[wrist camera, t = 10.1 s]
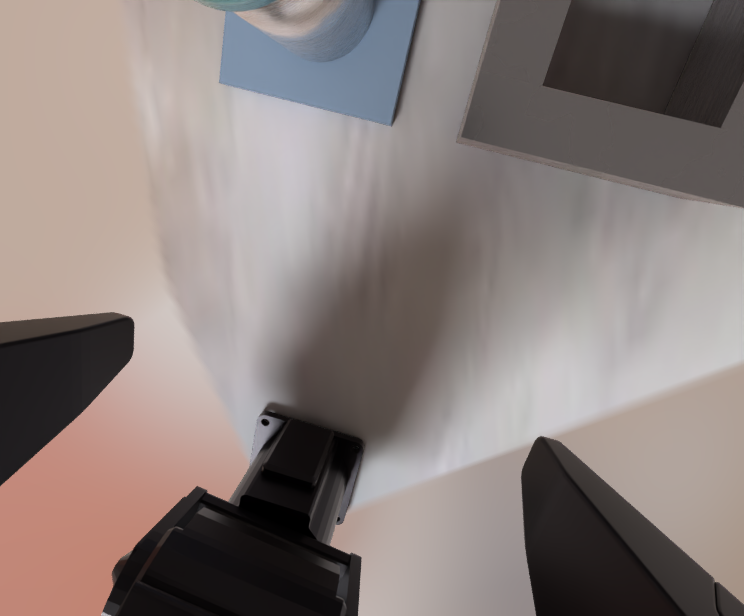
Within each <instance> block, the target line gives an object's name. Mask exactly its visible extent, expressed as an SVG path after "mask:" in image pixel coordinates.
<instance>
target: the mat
mask: <svg viewBox="0 0 744 616" xmlns="http://www.w3.org/2000/svg"><path fill="white" fill-rule="evenodd" d="M420 2H421V0H375V6H374V12H373V16H372V20H371V23H370V25H369V28H368V30H367V32H366V34H365V36H364V37H363V38H362V40H361V41H360V43H359V44H358V45H357V46H356V47H355V48H354V49H353V50H352V51H351V52H350V53H348V54H346V55H345V56H343V57H341V58H339V59H337V60H334V61H331V62H311V61H308V60H305V59H302V58H300V57H298V56H297V55H295V54H294V53H292V52H291V51H289V50H288V49H286V48H285V47H283V46H282V45H280V44H279V43H277V42H276V41H275V40H273V39H272V38H270V37H269V36H267V35H266V34H264V33H263V32H261V31H260V30H258V29H257V28H256V27H254V26H253V25H251V24H250V23H248V22H247V21H245V20H244V19H242V18H241V17H239V16H238V15H237V14H235V13H234V12H229V11H226V15H225V26H224V37H223V47H222V58H221V69H220V80H219V83H222V84H225V85H229V86H233V87H237V88H241V89H245V90H249V91H253V92H257V93H261V94H265V95H269V96H273V97H277V98H281V99H285V100H289V101H293V102H297V103H301V104H305V105H309V106H313V107H317V108H321V109H325V110H329V111H333V112H337V113H341V114H345V115H349V116H353V117H357V118H361V119H365V120H369V121H373V122H377V123H381V124H385V125H389V126H392V123H393V118H394V114H395V110H396V105H397V101H398V97H399V92H400V88H401V84H402V79H403V75H404V71H405V67H406V62H407V58H408V54H409V49H410V45H411V41H412V36H413V32H414V28H415V23H416V19H417V15H418V10H419V6H420Z"/></svg>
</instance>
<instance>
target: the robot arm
mask: <svg viewBox="0 0 744 616" xmlns="http://www.w3.org/2000/svg"><path fill="white" fill-rule="evenodd" d="M133 350H134V321H133V319H132V318H131V317H129V316H125V315H122V314H119V313H114V312H110V313H100V314H88V315H77V316H67V317H55V318H44V319H33V320H22V321H11V322H0V486H1V485H2V484H3V483H4V482H5V481H6V480H8V479H9V478H10V477H11V476H12V475H13V474H14V473H15V472H17V471H18V470H19V469H20V468H21V467H22V466H23V465H24V464H25V463H27V462H28V461H29V460H30V459H31V458H32V457H33V456H34V455H35V454H37V452H39V451H40V450H41V449H42V448H43V447H44V446H45V445H47V443H49V442H50V441H51V440H52V439H53V438H54V437H56V436H57V435H58V434H59V433H60V432H61V431H62V430H63V429H64V428H66V426H68V425H69V424H70V423H71V422H72V421H73V420H74V419H75V418H77V417H78V416H79V415H80V414H81V413H82V412H83V411H84V410H85V409H86V408H87V407H88V406H89V405H90V404H91V402H92V401H93V400H94V399H95V398H96V397H97V396H98V395H99V394H100V392H102V390H103V389H104V388H105V387H106V386H107V385H108V384H109V383H110V382H111V381H112V380H113V378H114V377H115V376H116V375H117V374H118V373H119V372H120V371H121V370H122V369H123V368H124V367H125V365H126V364H127V363H128V362H129V361H130V359H131V357H132V355H133ZM264 419H267V420H268V421H269V422H266V421H265V420H264ZM353 446H357V447H358V449H356V448H354V447H353ZM363 451H364V442H363V441H362V440H361V439H359V438H356V437H352V436H349V435H346V434H342V433H339V432H336V431H332V430H329V429H326V428H323V427H319V426H316V425H312V424H309V423H306V422H302V421H299V420H296V419H292V418H288V417H285V416H282V415H278V414H275V413H272V412H267V411H265V412H263V413H261V414H260V416H259V417H258V419H257V425H256V431H255V437H254V443H253V449H252V455H251V461H250V467H249V469H248V471H247V472H246V474H245V475H244V477H243V479H242V481H241V482H240V484H239V485H238V487H237V488H236V490H235V492H234V493H233V495H232V497H231V498H230V500H229V501H228V502H227V501H225V500H223V499H220V498H218V497H216V496H213V495H211V494H209V493H207V490H205V489H203V488H201V487H198V486H197V487H196V488H195V489H194V490H193V491H192V492H191V493H190V494H189V495H188V496H187V497H184V498H182V499H181V500H180V501H179V502H178V503H177V504H176V505H175V506H174V507H173V508H172V509H171V510H170V511H169V512H168V513H167V514H166V515H165V516H164V517H163V518H162V519H161V520H160V521H159V522H158V523H157V524H156V525H155V526H154V527H153V528H152V529H151V530H150V531H149V532H148V533H147V534H146V535H145V536H144V537H143V538H142V539H141V540H140V541H139V542H138V543H137V545H136V546H135V547H134V549H133V550H132V551H131V552H130V553H128V554H126V555H125V556H123V557H122V558H121V559H120V560H119V561H118V563H117V564H116V565H115V567H114V569H113V571H112V580H113V588H112V591H111V593H110V596H109V598H108V600H107V603H106V605H105V607H104V610H103V612H102V615H101V616H358V604H359V589H360V572H361V557H360V556H358V555H356V554H353V553H351V554H348V553H345V552H343V551H341V550H338V549H336V548H334V547H331V546H330V543H331V539H332V536H333V532H334V528H335V525H339V524H342V523H343V521H344V518H345V515H346V511H347V508H348V504H349V500H350V497H351V493H352V490H353V486H354V483H355V479H356V476H357V472H358V469H359V465H360V461H361V458H362V454H363ZM521 483H522V502H523V520H524V539H525V549H526V556H527V563H528V568H529V575H530V581H531V586H532V593H533V599H534V605H535V611H536V616H744V604H743V603H741V602H740V601H739V600H738V599H737V598H736V597H735V596H733V595H732V594H731V593H730V592H729V591H728V590H727V589H726V588H724V587H723V586H722V585H721V584H720V583H718V582H715V581H714V578H713V577H712V576H711V575H709V573H707V572H706V571H705V570H704V569H703V568H702V567H701V566H700V565H698V564H697V563H696V562H695V561H694V560H693V559H692V558H690V557H689V556H688V555H687V554H686V553H685V552H684V551H683V550H681V549H680V548H679V547H678V546H677V545H676V544H675V543H674V542H672V541H671V540H670V539H669V538H668V537H667V536H666V535H665V534H663V533H662V532H661V531H660V530H659V529H658V528H657V527H656V526H654V525H653V524H652V523H651V522H650V521H649V520H648V519H647V518H645V517H644V516H643V515H642V514H641V513H640V512H639V511H638V510H636V509H635V508H634V507H633V506H632V505H631V504H630V503H628V502H627V501H626V500H625V499H624V498H623V497H622V496H620V495H619V494H618V493H617V492H616V491H615V490H614V489H613V488H612V487H610V486H609V485H608V484H607V483H606V482H605V481H604V480H603V479H601V478H600V477H599V476H598V475H597V474H596V473H595V472H594V471H592V470H591V469H590V468H589V467H588V466H587V465H586V464H585V463H583V462H582V461H581V460H580V459H579V458H578V457H577V456H576V455H574V454H573V453H572V452H571V451H570V450H569V449H568V448H567V447H565V446H564V445H563V444H562V443H561V442H559V441H557V440H554V439H550V438H547V437H543V436H540V437H538V438H537V439H536V440H535V442H534V444H533V446H532V448H531V451H530V453H529V455H528V457H527V459H526V461H525V464H524V466H523V469H522V475H521ZM338 516H339V517H338Z"/></svg>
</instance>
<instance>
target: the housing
mask: <svg viewBox="0 0 744 616" xmlns="http://www.w3.org/2000/svg"><path fill="white" fill-rule="evenodd" d="M570 3H571V0H497V1H496V5H495V8H494V12H493V15H492V19H491V22H490V26H489V29H488V33H487V36H486V40H485V43H484V47H483V50H482V54H481V57H480V61H479V64H478V68H477V71H476V75H475V78H474V82H473V85H472V89H471V92H470V96H469V99H468V103H467V106H466V110H465V113H464V117H463V120H462V124H461V127H460V131H459V134H458V137H457V141H456V142H457V143H461V144H465V145H469V146H473V147H477V148H481V149H485V150H489V151H493V152H497V153H501V154H505V155H509V156H513V157H517V158H521V159H525V160H529V161H533V162H537V163H541V164H545V165H549V166H553V167H557V168H561V169H565V170H569V171H573V172H577V173H581V174H585V175H589V176H593V177H597V178H601V179H605V180H609V181H613V182H617V183H621V184H625V185H629V186H633V187H637V188H641V189H645V190H649V191H653V192H657V193H661V194H665V195H669V196H673V197H677V198H682V199H688V200H695V201H701V202H707V203H714V204H720V205H726V206H733V207H739V208H744V0H714V2H713V4H712V6H711V9H710V11H709V13H708V15H707V18H706V20H705V22H704V24H703V27H702V29H701V31H700V33H699V36H698V38H697V40H696V42H695V45H694V47H693V49H692V52H691V54H690V56H689V58H688V61H687V63H686V65H685V67H684V70H683V72H682V74H681V76H680V79H679V81H678V83H677V85H676V88H675V90H674V92H673V94H672V97H671V99H670V101H669V104H668V106H667V108H666V110H665V113H664V115H663V114H659V113H655V112H651V111H646V110H642V109H638V108H634V107H630V106H625V105H621V104H617V103H613V102H609V101H604V100H600V99H596V98H592V97H588V96H583V95H579V94H575V93H571V92H567V91H562V90H558V89H554V88H550V87H546V86H542V85H543V82H544V80H545V77H546V74H547V71H548V68H549V65H550V62H551V59H552V56H553V53H554V50H555V47H556V44H557V41H558V38H559V35H560V32H561V30H562V27H563V24H564V21H565V18H566V15H567V12H568V9H569V6H570Z"/></svg>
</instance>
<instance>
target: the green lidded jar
mask: <svg viewBox="0 0 744 616" xmlns="http://www.w3.org/2000/svg"><path fill="white" fill-rule="evenodd" d="M194 1H196V2H198V3H201V4H203V5H205V6H207V7H210V8H214V9H217V10H222V11H229V12H234V13H235V14H237V15H238V16H239V17H241V18H242V19H244V20H245V21H247V22H248V23H250V24H251V25H253V26H254V27H256V28H257V29H258V30H260V31H261V32H263V33H264V34H266V35H267V36H269V37H270V38H272V39H273V40H275V41H276V42H277V43H279V44H280V45H282V46H283V47H285V48H286V49H288V50H289V51H291V52H292V53H294V54H295V55H297V56H298V57H300V58H302V59H305V60H308V61H311V62H331V61H334V60H337V59H339V58H341V57H343V56H345V55H346V54H348V53H350V52H351V51H352V50H353V49H354V48H355V47H356V46H357V45H358V44H359V43H360V41H361V40H362V38H363V37H364V36H365V34H366V32H367V30H368V28H369V25H370V23H371V20H372V16H373V12H374V6H375V0H194Z"/></svg>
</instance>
